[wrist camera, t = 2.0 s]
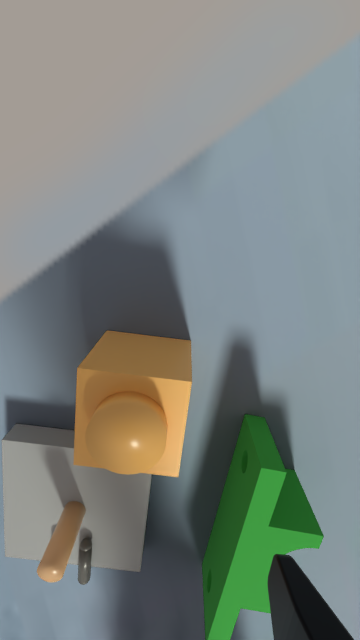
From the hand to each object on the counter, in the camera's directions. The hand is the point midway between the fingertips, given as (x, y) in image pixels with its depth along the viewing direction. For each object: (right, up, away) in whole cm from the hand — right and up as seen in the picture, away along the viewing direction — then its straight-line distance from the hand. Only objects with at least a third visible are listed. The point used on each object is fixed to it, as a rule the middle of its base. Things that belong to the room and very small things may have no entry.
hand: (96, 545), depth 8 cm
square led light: (0, +3, +10) cm, 10 cm away
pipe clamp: (+6, -5, +12) cm, 15 cm away
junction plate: (-4, -5, +12) cm, 13 cm away
